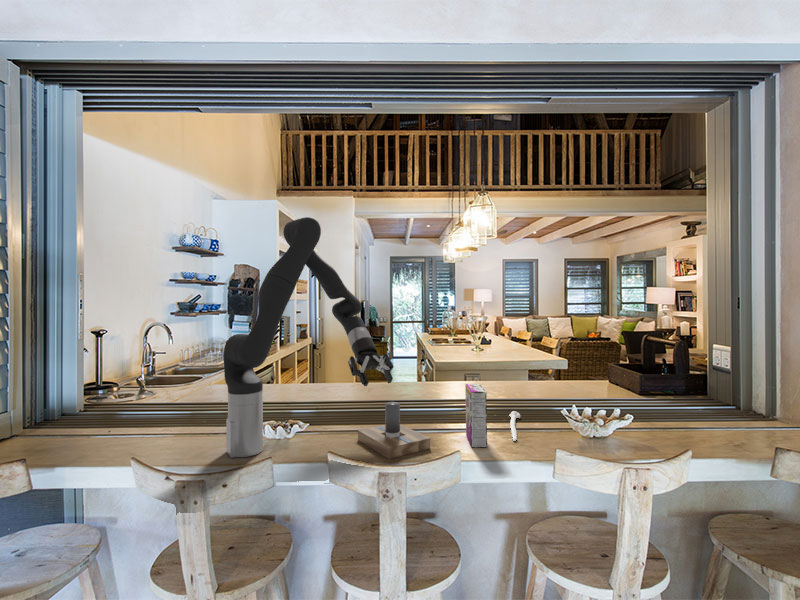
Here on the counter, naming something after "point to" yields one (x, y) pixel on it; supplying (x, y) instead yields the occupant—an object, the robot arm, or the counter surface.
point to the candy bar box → (476, 415)
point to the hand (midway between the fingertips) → (378, 383)
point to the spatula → (513, 424)
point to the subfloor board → (394, 441)
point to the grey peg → (392, 419)
